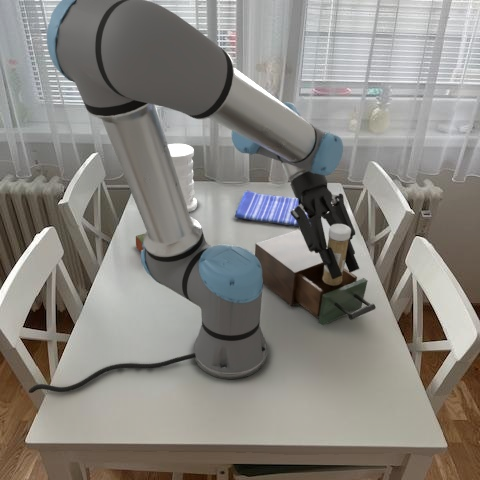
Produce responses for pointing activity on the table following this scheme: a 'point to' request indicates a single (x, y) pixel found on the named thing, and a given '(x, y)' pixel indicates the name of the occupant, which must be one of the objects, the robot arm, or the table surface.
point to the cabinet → (285, 263)
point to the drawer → (331, 295)
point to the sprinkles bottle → (337, 250)
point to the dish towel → (267, 208)
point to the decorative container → (184, 171)
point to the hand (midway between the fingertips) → (345, 273)
